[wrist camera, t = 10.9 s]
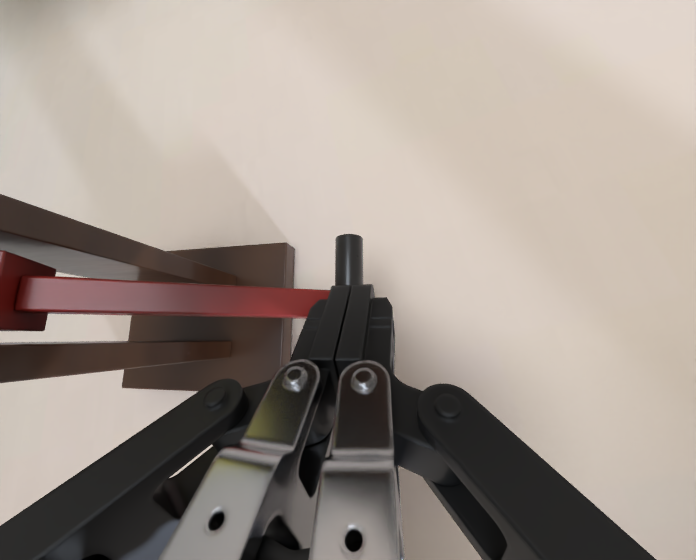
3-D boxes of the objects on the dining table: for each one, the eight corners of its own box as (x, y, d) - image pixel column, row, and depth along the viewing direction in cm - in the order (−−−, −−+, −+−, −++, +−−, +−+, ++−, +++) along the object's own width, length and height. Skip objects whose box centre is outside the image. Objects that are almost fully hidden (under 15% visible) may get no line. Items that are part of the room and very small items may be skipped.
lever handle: (352, 247, 14) (372, 230, 12) (353, 375, 13) (375, 383, 11) (-36, 208, 10) (-118, 171, 8) (-86, 394, 9) (-200, 414, 7)
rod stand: (294, 248, 19) (71, 78, 7) (289, 390, 18) (-25, 529, 5) (155, 257, 22) (-210, 144, 9) (139, 385, 20) (-342, 469, 7)
